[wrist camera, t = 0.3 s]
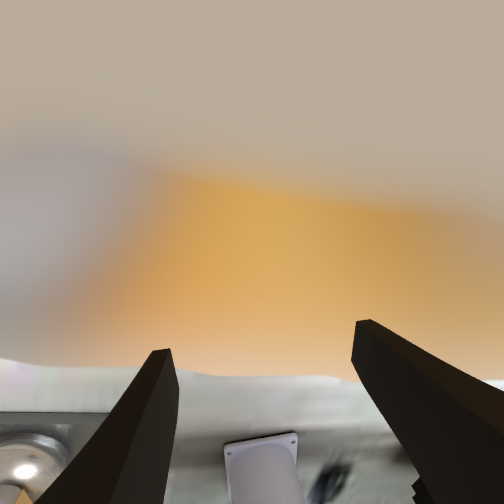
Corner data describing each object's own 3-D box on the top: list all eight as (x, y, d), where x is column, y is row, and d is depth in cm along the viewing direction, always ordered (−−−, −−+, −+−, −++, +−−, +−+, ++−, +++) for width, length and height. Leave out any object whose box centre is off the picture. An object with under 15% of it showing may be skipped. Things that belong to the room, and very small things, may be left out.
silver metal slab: (155, 413, 24) (148, 448, 21) (146, 484, 28) (139, 521, 25) (-119, 411, 19) (-173, 454, 17) (-85, 495, 23) (-124, 542, 20)
